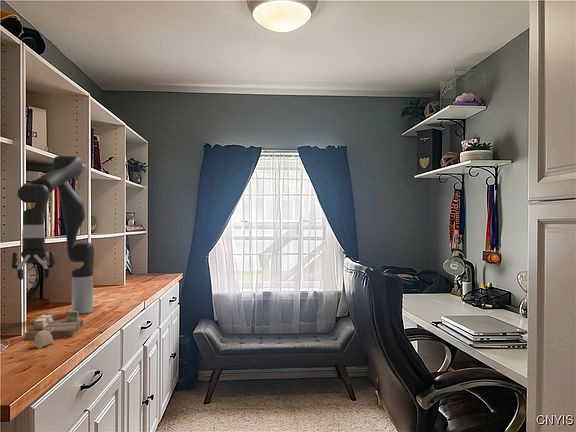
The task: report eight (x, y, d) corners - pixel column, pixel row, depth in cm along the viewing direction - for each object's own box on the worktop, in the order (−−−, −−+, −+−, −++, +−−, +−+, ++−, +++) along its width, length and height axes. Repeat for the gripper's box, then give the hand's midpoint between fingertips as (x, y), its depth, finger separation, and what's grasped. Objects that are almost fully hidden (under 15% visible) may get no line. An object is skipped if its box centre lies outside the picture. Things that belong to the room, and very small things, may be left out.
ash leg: (45, 321, 184) (45, 313, 184) (53, 320, 185) (53, 313, 185) (34, 329, 171) (34, 320, 171) (42, 329, 172) (42, 320, 172)
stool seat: (42, 327, 186) (42, 312, 186) (83, 324, 190) (83, 310, 190) (24, 339, 167) (24, 323, 167) (71, 337, 170) (71, 321, 170)
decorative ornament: (30, 347, 157) (30, 332, 157) (49, 341, 164) (49, 326, 164) (39, 348, 155) (39, 333, 155) (58, 342, 163) (58, 327, 163)
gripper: (56, 236, 178) (56, 277, 178) (16, 236, 174) (16, 278, 174) (51, 236, 170) (51, 279, 170) (9, 237, 167) (9, 281, 167)
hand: (33, 279), depth 172 cm, fingers open, 8 cm apart
